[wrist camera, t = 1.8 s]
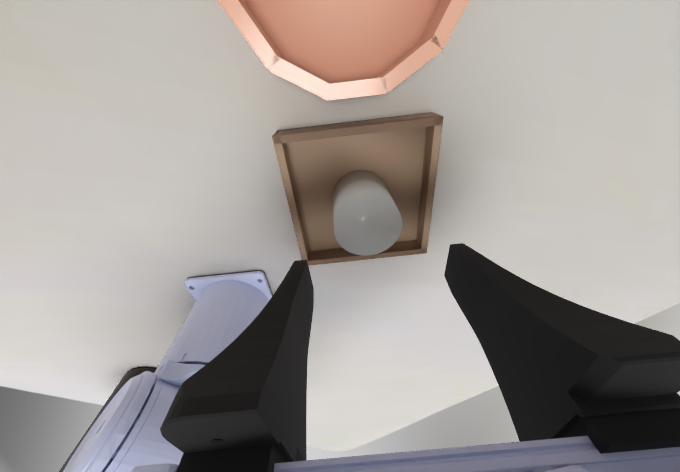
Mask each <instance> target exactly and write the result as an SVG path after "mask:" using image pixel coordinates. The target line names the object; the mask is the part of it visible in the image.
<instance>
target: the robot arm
mask: <svg viewBox="0 0 680 472" xmlns="http://www.w3.org/2000/svg"><path fill="white" fill-rule="evenodd" d="M445 278H446V280H447V283H448V285H449V288H450V290H451V292H452V294H453V296H454V298H455V299H456V301H457V303H458V305H459V306H460V308H461V310H462V312H463V313H464V315H465V317H466V318H467V320H468V322H469V323H470V325H471V327H472V328H473V330H474V332H475V334H476V336H477V338H478V339H479V341H480V343H481V346H482V348H483V350H484V352H485V354H486V357H487V359H488V361H489V363H490V366H491V368H492V370H493V373H494V375H495V377H496V380H497V382H498V384H499V387H500V389H501V392H502V394H503V397H504V399H505V402H506V405H507V407H508V410H509V412H510V415H511V418H512V421H513V424H514V426H515V429H516V432H517V435H518V438H519V441H520V442H511V443H501V444H488V445H477V446H466V447H455V448H443V449H432V450H421V451H410V452H398V453H387V454H376V455H364V456H352V457H341V458H330V459H319V460H307V461H306V388H307V356H308V346H309V338H310V330H311V322H312V314H313V284H312V280H311V276H310V271H309V267H308V262H307V260H300V261H295V262H294V263H293V264H292V266H291V268H290V270H289V271H288V273H287V275H286V276H285V278H284V280H283V281H282V283H281V284H280V286H279V287H278V289H277V290H276V292H275V293H274V295H273V296H272V294H271V291H270V288H269V286H268V283H267V280H266V278H265V275H264V273H263V272H261V271H254V272H245V273H235V274H226V275H216V276H207V277H197V278H188V279H186V281H185V282H184V284H185V286H186V287H187V289H188V291H189V292H190V294H191V295H192V297H193V298H194V300H195V302H196V303H195V304H194V306H193V308H192V309H191V311H190V313H189V315H188V316H187V318H186V320H185V321H184V323H183V325H182V327H181V328H180V330H179V332H178V333H177V335H176V337H175V339H174V340H173V342H172V344H171V345H170V347H169V349H168V351H167V352H166V354H165V356H164V357H163V359H162V361H161V363H160V364H159V366H158V368H157V369H156V371H155V372H154V373H152V372H150V371H145V372H143V373H141V374H140V375H137V376H135V377H133V378H131V379H129V380H128V381H127V382H126V383H125V384H124V386H123V387H122V388H121V389H120V390H119V391H118V393H117V394H116V395H115V396H114V398H113V399H112V400H111V401H110V403H109V404H108V405H107V407H106V408H105V409H104V411H103V412H102V413H101V415H100V416H99V417H98V419H97V420H96V422H95V423H94V424H93V426H92V427H91V429H90V430H89V432H88V433H87V435H86V436H85V437H84V439H83V440H82V442H81V443H80V445H79V446H78V448H77V450H76V451H75V453H74V454H73V456H72V457H71V459H70V461H69V462H68V464H67V465H66V467H65V469H64V471H63V472H680V396H679V395H678V394H677V392H678V391H680V341H679V340H678V339H676V338H675V337H674V336H672V335H669V334H666V333H663V332H659V331H656V330H652V329H649V328H646V327H642V326H639V325H636V324H632V323H629V322H626V321H623V320H620V319H617V318H614V317H611V316H608V315H605V314H602V313H599V312H597V311H594V310H591V309H589V308H586V307H583V306H581V305H578V304H576V303H573V302H571V301H568V300H566V299H563V298H561V297H559V296H557V295H554V294H552V293H550V292H548V291H546V290H544V289H541V288H539V287H537V286H535V285H533V284H531V283H529V282H527V281H525V280H524V279H522V278H520V277H518V276H516V275H514V274H512V273H511V272H509V271H507V270H506V269H504V268H502V267H500V266H499V265H497V264H495V263H494V262H492V261H491V260H489V259H487V258H486V257H484V256H483V255H481V254H479V253H478V252H476V251H475V250H473V249H471V248H470V247H468V246H466V245H465V244H463V243H462V244H452V245H450V248H449V254H448V259H447V264H446V270H445ZM259 279H262V280H259ZM192 286H193V287H192Z"/></svg>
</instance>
